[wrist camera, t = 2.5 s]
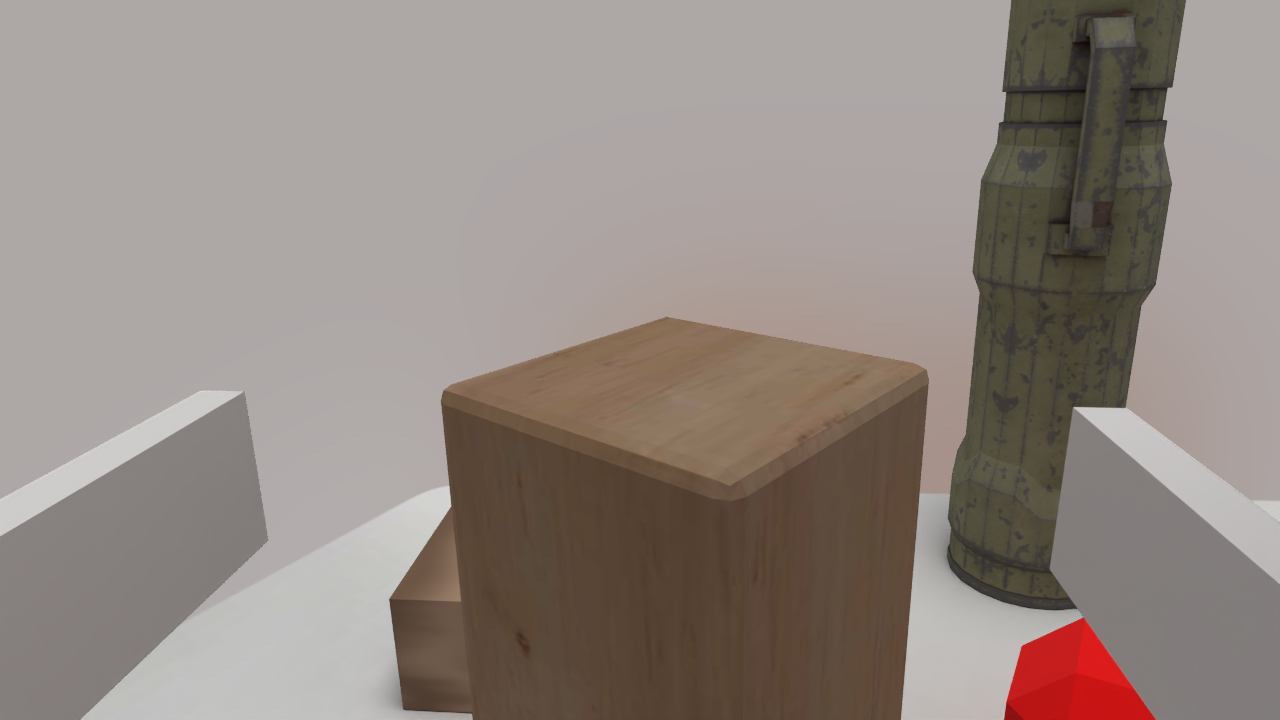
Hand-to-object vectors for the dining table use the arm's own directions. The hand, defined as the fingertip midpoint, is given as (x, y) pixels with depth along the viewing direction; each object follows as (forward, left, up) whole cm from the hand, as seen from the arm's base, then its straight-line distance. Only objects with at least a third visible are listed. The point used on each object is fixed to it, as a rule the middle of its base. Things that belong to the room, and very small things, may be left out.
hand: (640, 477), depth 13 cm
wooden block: (0, -10, -22) cm, 24 cm away
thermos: (-19, -34, -22) cm, 45 cm away
